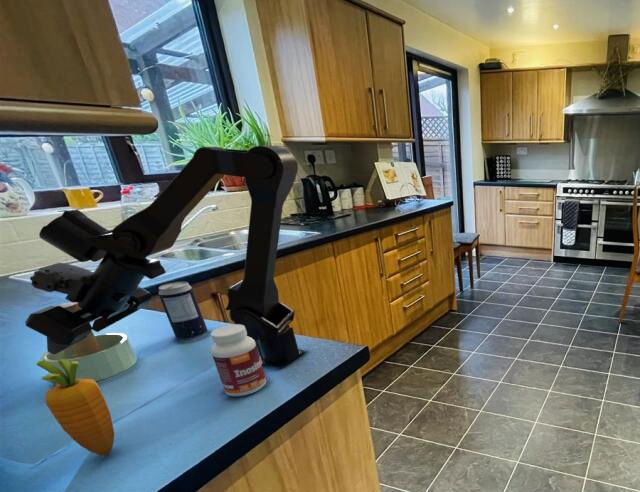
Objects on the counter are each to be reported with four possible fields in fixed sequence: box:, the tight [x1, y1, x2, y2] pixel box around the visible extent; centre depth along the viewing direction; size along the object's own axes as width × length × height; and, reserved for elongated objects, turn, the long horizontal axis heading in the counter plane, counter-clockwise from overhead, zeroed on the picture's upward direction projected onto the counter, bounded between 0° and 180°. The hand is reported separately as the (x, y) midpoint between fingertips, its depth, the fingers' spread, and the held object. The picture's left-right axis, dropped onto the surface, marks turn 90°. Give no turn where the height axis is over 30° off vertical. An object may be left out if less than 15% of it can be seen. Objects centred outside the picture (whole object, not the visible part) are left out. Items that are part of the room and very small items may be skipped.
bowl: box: [40, 332, 138, 386], centre depth 74 cm, size 11×11×6 cm
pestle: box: [55, 301, 103, 358], centre depth 72 cm, size 5×5×13 cm
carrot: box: [36, 359, 115, 457], centre depth 51 cm, size 5×5×15 cm
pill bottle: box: [210, 323, 267, 397], centre depth 67 cm, size 6×6×11 cm
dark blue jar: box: [158, 281, 208, 341], centre depth 86 cm, size 6×6×12 cm
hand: (74, 340), depth 72 cm, fingers open, 9 cm apart
